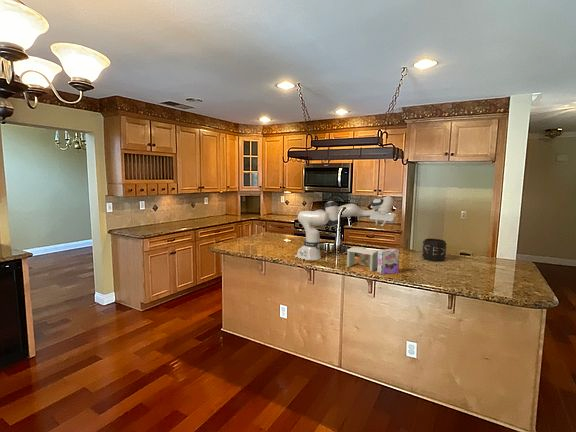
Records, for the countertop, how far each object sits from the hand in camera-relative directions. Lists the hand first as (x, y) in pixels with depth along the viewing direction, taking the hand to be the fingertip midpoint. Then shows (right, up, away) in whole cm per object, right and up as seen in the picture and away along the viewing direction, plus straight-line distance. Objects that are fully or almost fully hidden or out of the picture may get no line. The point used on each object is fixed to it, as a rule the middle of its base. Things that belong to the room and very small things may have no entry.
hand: (379, 225), depth 275 cm
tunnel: (-19, -31, -22) cm, 42 cm away
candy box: (-4, -32, -35) cm, 48 cm away
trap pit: (-24, -31, -29) cm, 49 cm away
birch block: (-13, -30, -14) cm, 35 cm away
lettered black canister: (+45, -28, +3) cm, 53 cm away
